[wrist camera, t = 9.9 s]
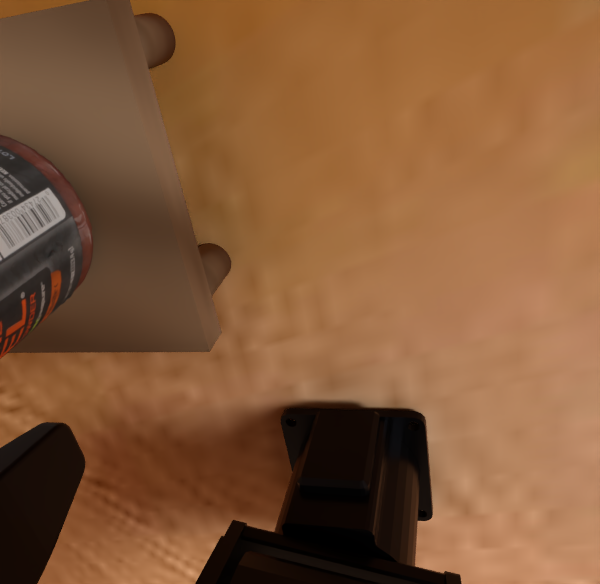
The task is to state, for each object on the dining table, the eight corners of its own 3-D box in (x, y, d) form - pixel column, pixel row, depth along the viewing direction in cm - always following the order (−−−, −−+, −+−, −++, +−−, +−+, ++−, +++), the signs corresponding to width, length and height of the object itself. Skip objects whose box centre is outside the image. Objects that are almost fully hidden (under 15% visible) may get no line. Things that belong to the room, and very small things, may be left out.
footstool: (248, 287, 23) (209, 351, 19) (28, 296, 26) (-43, 352, 22) (177, -11, 18) (105, -3, 14) (-87, 42, 21) (-204, 61, 17)
